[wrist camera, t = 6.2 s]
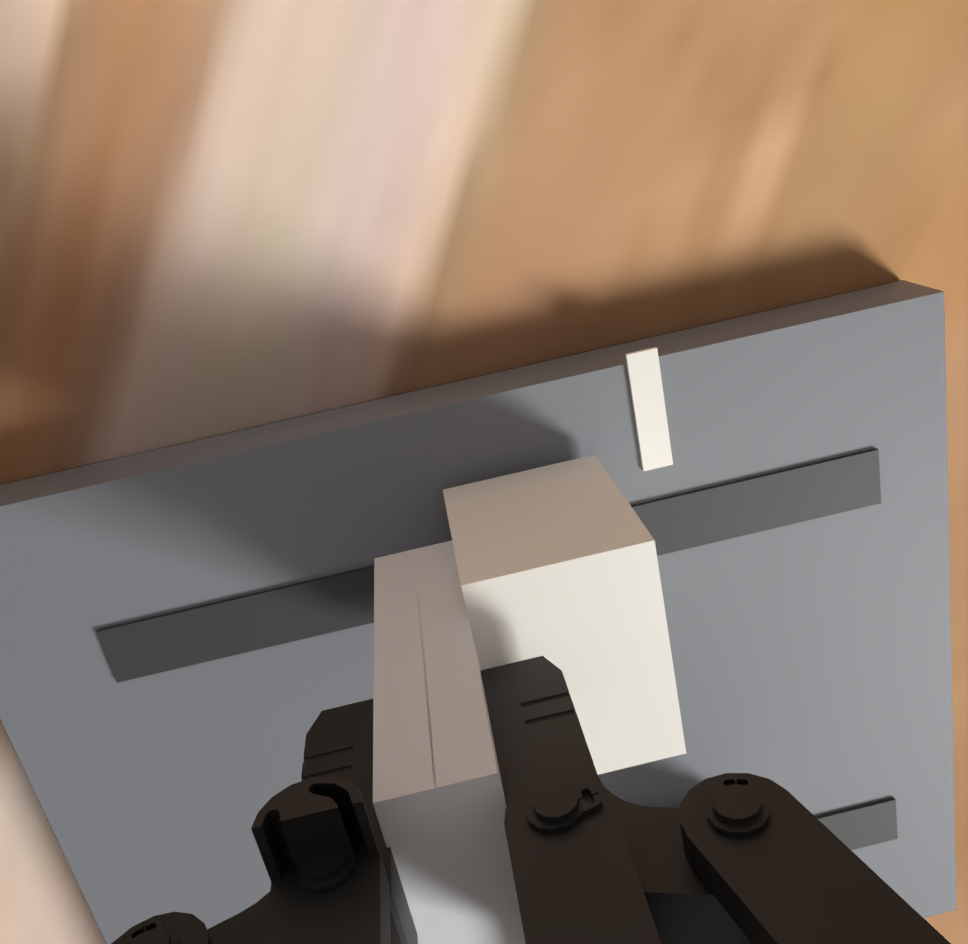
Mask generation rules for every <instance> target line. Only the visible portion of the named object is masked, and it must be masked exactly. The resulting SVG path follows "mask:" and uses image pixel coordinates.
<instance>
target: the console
mask: <svg viewBox="0 0 968 944" xmlns="http://www.w3.org/2000/svg"><path fill="white" fill-rule="evenodd" d="M591 455H596V456H597V457H598V459H599V460H600V462H601V463H602V465H603V466H604V468H605V469H606V470H607V472H608V473H609V475H610V476H611V478H612V479H613V481H614V482H615V484H616V485H617V486H618V488H619V489H620V491H621V492H622V494H623V495H624V497H625V498H626V499H627V501H628V502H629V504H630V505H631V507H632V508H633V510H634V511H635V513H636V514H637V515H638V517H639V518H640V520H641V521H642V523H643V524H644V526H645V527H646V528H647V530H648V531H649V533H650V534H651V536H652V537H653V539H654V540H655V546H656V553H657V559H658V566H659V573H660V580H661V586H662V593H663V600H664V606H665V613H666V620H667V627H668V633H669V640H670V647H671V653H672V660H673V667H674V674H675V680H676V687H677V694H678V700H679V707H680V714H681V721H682V727H683V734H684V741H685V747H686V754H682V755H677V756H673V757H669V758H665V759H661V760H657V761H653V762H649V763H644V764H640V765H636V766H632V767H628V768H624V769H620V770H616V771H611V772H607V773H603V774H599V775H598V777H599V778H600V780H601V782H602V784H603V785H604V786H605V787H606V788H607V789H608V790H609V791H610V792H611V793H612V794H613V795H615V796H617V797H619V798H621V799H622V800H624V801H627V802H630V803H633V804H637V805H640V806H649V807H669V808H680V804H681V802H682V800H683V799H684V797H685V796H686V794H687V793H688V791H689V790H690V789H691V788H693V787H694V786H696V785H697V784H699V783H700V782H702V781H703V780H705V779H707V778H710V777H714V776H717V775H721V774H725V773H750V774H753V775H757V776H761V777H764V778H768V779H770V780H772V781H774V782H775V783H777V784H778V785H780V786H781V787H783V788H784V789H786V790H787V791H788V792H789V793H790V794H792V795H793V796H794V797H795V798H796V799H797V800H798V801H799V802H800V803H801V804H802V805H803V806H804V807H805V808H806V809H808V810H809V811H810V812H811V813H812V814H813V815H814V816H815V817H816V818H817V819H818V820H819V821H820V822H821V823H822V824H824V825H825V826H826V827H827V828H828V829H829V830H830V831H831V832H832V833H833V834H834V835H835V836H836V837H837V838H838V839H840V840H841V841H842V842H843V843H844V844H845V845H846V846H847V847H848V848H849V849H850V850H851V851H852V852H853V853H854V854H856V855H857V856H858V857H859V858H860V859H861V860H862V861H863V862H864V863H865V864H866V865H867V866H868V867H869V868H870V869H872V870H873V871H874V872H875V873H876V874H877V875H878V876H879V877H880V878H881V879H882V880H883V881H884V882H885V883H886V884H888V885H889V886H890V887H891V888H892V889H893V890H894V891H895V892H896V893H897V894H898V895H899V896H900V897H901V898H902V899H904V900H905V901H906V902H907V903H908V904H909V905H910V906H911V907H912V908H913V909H914V910H915V911H916V912H917V913H918V914H920V915H921V916H922V917H923V918H926V917H930V916H934V915H938V914H942V913H946V912H950V911H954V910H956V862H955V812H954V762H953V712H952V662H951V612H950V562H949V511H948V461H947V411H946V361H945V311H944V291H940V290H936V289H933V288H929V287H925V286H922V285H918V284H915V283H911V282H907V281H904V280H901V281H897V282H892V283H888V284H883V285H879V286H874V287H870V288H866V289H861V290H857V291H852V292H848V293H844V294H839V295H835V296H830V297H826V298H822V299H817V300H813V301H808V302H804V303H800V304H795V305H791V306H786V307H782V308H778V309H773V310H769V311H764V312H760V313H755V314H751V315H747V316H742V317H738V318H733V319H729V320H725V321H720V322H716V323H711V324H707V325H703V326H698V327H694V328H689V329H685V330H681V331H676V332H672V333H667V334H663V335H659V336H654V337H650V338H645V339H641V340H636V341H632V342H628V343H623V344H619V345H614V346H610V347H606V348H601V349H597V350H592V351H588V352H584V353H579V354H575V355H570V356H566V357H562V358H557V359H553V360H548V361H544V362H540V363H535V364H531V365H526V366H522V367H517V368H513V369H509V370H504V371H500V372H495V373H491V374H487V375H482V376H478V377H473V378H469V379H465V380H460V381H456V382H451V383H447V384H443V385H438V386H434V387H429V388H425V389H421V390H416V391H412V392H407V393H403V394H398V395H394V396H390V397H385V398H381V399H376V400H372V401H368V402H363V403H359V404H354V405H350V406H346V407H341V408H337V409H332V410H328V411H324V412H319V413H315V414H310V415H306V416H301V417H297V418H293V419H288V420H284V421H279V422H275V423H271V424H266V425H262V426H257V427H253V428H249V429H244V430H240V431H235V432H231V433H227V434H222V435H218V436H213V437H209V438H205V439H200V440H196V441H191V442H187V443H182V444H178V445H174V446H169V447H165V448H160V449H156V450H152V451H147V452H143V453H138V454H134V455H130V456H125V457H121V458H116V459H112V460H108V461H103V462H99V463H94V464H90V465H86V466H81V467H77V468H72V469H68V470H63V471H59V472H55V473H50V474H46V475H41V476H37V477H33V478H28V479H24V480H19V481H15V482H11V483H6V484H2V485H0V720H1V722H2V724H3V726H4V728H5V730H6V733H7V735H8V737H9V739H10V741H11V743H12V745H13V747H14V750H15V752H16V754H17V756H18V758H19V760H20V762H21V764H22V766H23V769H24V771H25V773H26V775H27V777H28V779H29V781H30V783H31V786H32V788H33V790H34V792H35V794H36V796H37V798H38V800H39V802H40V805H41V807H42V809H43V811H44V813H45V815H46V817H47V819H48V821H49V824H50V826H51V828H52V830H53V832H54V834H55V836H56V838H57V841H58V843H59V845H60V847H61V849H62V851H63V853H64V855H65V857H66V860H67V862H68V864H69V866H70V868H71V870H72V872H73V874H74V876H75V879H76V881H77V883H78V885H79V887H80V889H81V891H82V893H83V896H84V898H85V900H86V902H87V904H88V906H89V908H90V910H91V912H92V915H93V917H94V919H95V921H96V923H97V925H98V927H99V929H100V931H101V934H102V936H103V938H104V940H105V942H106V944H111V943H112V942H114V941H115V940H116V939H117V938H119V937H120V936H121V935H122V934H124V933H125V932H126V931H127V930H129V929H130V928H131V927H133V926H135V925H137V924H139V923H141V922H143V921H145V920H147V919H149V918H151V917H153V916H156V915H161V914H166V913H170V912H182V913H189V914H193V915H195V916H196V917H197V918H198V919H200V920H201V921H202V922H203V923H205V926H206V928H207V929H209V928H211V927H213V926H215V925H217V924H219V923H221V922H223V921H225V920H227V919H229V918H231V917H233V916H235V915H236V914H238V913H240V912H242V911H244V910H245V909H247V908H249V907H250V906H252V905H253V904H255V903H257V902H258V901H259V900H260V899H261V898H263V897H264V896H265V895H266V894H267V893H269V892H270V888H271V880H270V877H269V875H268V872H267V870H266V867H265V864H264V862H263V859H262V856H261V854H260V851H259V848H258V846H257V843H256V840H255V838H254V835H253V832H252V830H251V828H252V825H253V823H254V820H255V818H256V816H257V813H258V812H259V811H260V810H261V809H262V807H263V806H264V805H265V804H266V803H267V802H268V801H269V800H270V799H271V798H272V797H273V796H275V795H276V794H278V793H279V792H281V791H282V790H284V789H285V788H287V787H288V786H290V785H292V784H295V783H298V782H301V781H302V779H301V774H302V766H303V762H304V758H303V757H304V749H305V740H306V734H307V732H308V731H309V729H310V728H311V726H312V725H313V723H314V722H315V720H316V719H317V717H318V716H319V714H320V713H321V711H323V710H327V709H331V708H336V707H340V706H344V705H348V704H352V703H356V702H361V701H365V700H369V699H373V692H374V558H379V557H383V556H387V555H391V554H396V553H400V552H404V551H409V550H413V549H417V548H421V547H426V546H430V545H434V544H438V543H443V542H447V541H451V540H452V537H451V531H450V526H449V521H448V516H447V510H446V505H445V500H444V495H443V490H444V489H448V488H452V487H457V486H461V485H465V484H470V483H474V482H478V481H483V480H487V479H491V478H496V477H500V476H504V475H509V474H513V473H517V472H522V471H526V470H530V469H535V468H539V467H543V466H548V465H552V464H556V463H561V462H565V461H569V460H574V459H578V458H582V457H587V456H591Z"/></svg>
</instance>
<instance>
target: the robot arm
mask: <svg viewBox="0 0 968 944" xmlns="http://www.w3.org/2000/svg"><path fill="white" fill-rule="evenodd" d="M303 758H304V762H303V766H302V774H301V779H302V781H301V782H298V783H295V784H292V785H290V786H288V787H287V788H285V789H284V790H282V791H281V792H279V793H278V794H276V795H275V796H273V797H272V798H271V799H270V800H269V801H268V802H267V803H266V804H265V805H264V806H263V807H262V809H261V810H260V811H259V812H258V813H257V816H256V818H255V820H254V823H253V825H252V828H251V830H252V832H253V835H254V838H255V840H256V843H257V846H258V848H259V851H260V854H261V856H262V859H263V862H264V864H265V867H266V870H267V872H268V875H269V877H270V880H271V888H270V892H269V893H267V894H266V895H265V896H264V897H263V898H261V899H260V900H259V901H258V902H257V903H255V904H253V905H252V906H250V907H249V908H247V909H245V910H244V911H242V912H240V913H238V914H236V915H235V916H233V917H231V918H229V919H227V920H225V921H223V922H221V923H219V924H217V925H215V926H213V927H211V928H209V929H207V928H206V926H205V923H203V922H202V921H201V920H200V919H198V918H197V917H196V916H195V915H193V914H189V913H182V912H170V913H166V914H161V915H156V916H153V917H151V918H149V919H147V920H145V921H143V922H141V923H139V924H137V925H135V926H133V927H131V928H130V929H129V930H127V931H126V932H125V933H124V934H122V935H121V936H120V937H119V938H117V939H116V940H115V941H114V942H112V943H111V944H950V943H949V942H948V941H947V940H946V939H945V938H944V937H943V936H942V935H941V934H940V933H939V932H938V931H937V930H935V929H934V928H933V927H932V926H931V925H930V924H929V923H928V922H927V921H926V920H925V919H924V918H923V917H922V916H921V915H920V914H918V913H917V912H916V911H915V910H914V909H913V908H912V907H911V906H910V905H909V904H908V903H907V902H906V901H905V900H904V899H902V898H901V897H900V896H899V895H898V894H897V893H896V892H895V891H894V890H893V889H892V888H891V887H890V886H889V885H888V884H886V883H885V882H884V881H883V880H882V879H881V878H880V877H879V876H878V875H877V874H876V873H875V872H874V871H873V870H872V869H870V868H869V867H868V866H867V865H866V864H865V863H864V862H863V861H862V860H861V859H860V858H859V857H858V856H857V855H856V854H854V853H853V852H852V851H851V850H850V849H849V848H848V847H847V846H846V845H845V844H844V843H843V842H842V841H841V840H840V839H838V838H837V837H836V836H835V835H834V834H833V833H832V832H831V831H830V830H829V829H828V828H827V827H826V826H825V825H824V824H822V823H821V822H820V821H819V820H818V819H817V818H816V817H815V816H814V815H813V814H812V813H811V812H810V811H809V810H808V809H806V808H805V807H804V806H803V805H802V804H801V803H800V802H799V801H798V800H797V799H796V798H795V797H794V796H793V795H792V794H790V793H789V792H788V791H787V790H786V789H784V788H783V787H781V786H780V785H778V784H777V783H775V782H774V781H772V780H770V779H768V778H764V777H761V776H757V775H753V774H750V773H725V774H721V775H717V776H714V777H710V778H707V779H705V780H703V781H702V782H700V783H699V784H697V785H696V786H694V787H693V788H691V789H690V790H689V791H688V793H687V794H686V796H685V797H684V799H683V800H682V802H681V804H680V808H669V807H649V806H640V805H637V804H633V803H630V802H627V801H624V800H622V799H621V798H619V797H617V796H615V795H613V794H612V793H611V792H610V791H609V790H608V789H607V788H606V787H605V786H604V785H603V784H602V782H601V780H600V778H599V777H598V774H597V771H596V769H595V766H594V763H593V760H592V757H591V754H590V751H589V748H588V745H587V742H586V739H585V737H584V734H583V731H582V728H581V725H580V722H579V719H578V716H577V713H576V711H575V708H574V705H573V702H572V699H571V696H570V694H569V690H568V687H567V684H566V681H565V678H564V676H563V673H562V670H560V669H559V668H558V667H556V666H555V665H554V664H553V663H551V662H550V661H549V660H548V659H546V658H545V657H544V656H539V657H535V658H531V659H527V660H522V661H518V662H514V663H510V664H506V665H501V666H497V667H493V668H489V669H485V670H481V668H480V664H479V660H478V655H477V651H476V647H475V643H474V639H473V635H472V631H471V626H470V622H469V618H468V614H467V610H466V605H465V601H464V597H463V593H462V589H461V584H460V579H459V574H458V568H457V563H456V558H455V553H454V547H453V542H452V540H451V541H447V542H443V543H438V544H434V545H430V546H426V547H421V548H417V549H413V550H409V551H404V552H400V553H396V554H391V555H387V556H383V557H379V558H374V692H373V699H369V700H365V701H361V702H356V703H352V704H348V705H344V706H340V707H336V708H331V709H327V710H323V711H321V713H320V714H319V716H318V717H317V719H316V720H315V722H314V723H313V725H312V726H311V728H310V729H309V731H308V732H307V734H306V740H305V749H304V757H303Z"/></svg>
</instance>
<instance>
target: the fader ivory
mask: <svg viewBox="0 0 968 944" xmlns="http://www.w3.org/2000/svg"><path fill="white" fill-rule="evenodd" d="M443 495H444V500H445V505H446V510H447V516H448V521H449V526H450V531H451V537H452V542H453V547H454V553H455V558H456V563H457V568H458V574H459V579H460V584H461V589H462V593H463V597H464V601H465V605H466V610H467V614H468V618H469V622H470V626H471V631H472V635H473V639H474V643H475V647H476V651H477V655H478V660H479V664H480V668H481V670H485V669H489V668H493V667H497V666H501V665H506V664H510V663H514V662H518V661H522V660H527V659H531V658H535V657H539V656H544V657H545V658H546V659H548V660H549V661H550V662H551V663H553V664H554V665H555V666H556V667H558V668H559V669H560V670H562V673H563V676H564V678H565V681H566V684H567V687H568V690H569V694H570V696H571V699H572V702H573V705H574V708H575V711H576V713H577V716H578V719H579V722H580V725H581V728H582V731H583V734H584V737H585V739H586V742H587V745H588V748H589V751H590V754H591V757H592V760H593V763H594V766H595V769H596V771H597V774H598V775H599V774H603V773H607V772H611V771H616V770H620V769H624V768H628V767H632V766H636V765H640V764H644V763H649V762H653V761H657V760H661V759H665V758H669V757H673V756H677V755H682V754H686V747H685V741H684V734H683V727H682V721H681V714H680V707H679V700H678V694H677V687H676V680H675V674H674V667H673V660H672V653H671V647H670V640H669V633H668V627H667V620H666V613H665V606H664V600H663V593H662V586H661V580H660V573H659V566H658V559H657V553H656V546H655V540H654V539H653V537H652V536H651V534H650V533H649V531H648V530H647V528H646V527H645V526H644V524H643V523H642V521H641V520H640V518H639V517H638V515H637V514H636V513H635V511H634V510H633V508H632V507H631V505H630V504H629V502H628V501H627V499H626V498H625V497H624V495H623V494H622V492H621V491H620V489H619V488H618V486H617V485H616V484H615V482H614V481H613V479H612V478H611V476H610V475H609V473H608V472H607V470H606V469H605V468H604V466H603V465H602V463H601V462H600V460H599V459H598V457H597V456H596V455H591V456H587V457H582V458H578V459H574V460H569V461H565V462H561V463H556V464H552V465H548V466H543V467H539V468H535V469H530V470H526V471H522V472H517V473H513V474H509V475H504V476H500V477H496V478H491V479H487V480H483V481H478V482H474V483H470V484H465V485H461V486H457V487H452V488H448V489H444V490H443Z"/></svg>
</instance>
